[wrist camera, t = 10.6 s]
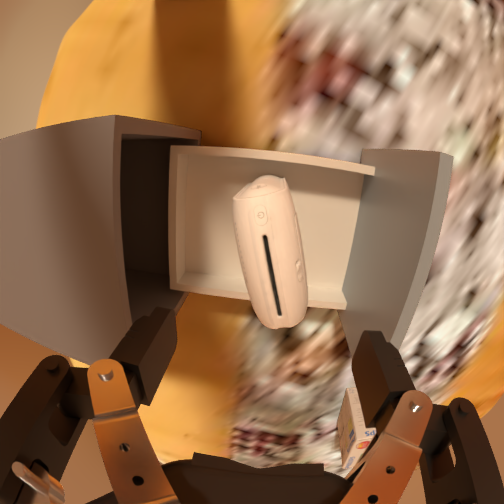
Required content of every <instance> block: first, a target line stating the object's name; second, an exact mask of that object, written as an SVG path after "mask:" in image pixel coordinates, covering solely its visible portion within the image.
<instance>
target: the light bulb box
mask: <svg viewBox="0 0 504 504" xmlns="http://www.w3.org/2000/svg"><path fill="white" fill-rule="evenodd" d="M337 425H338V432H339V440H340V448H341V457H342V468H343V469H346V468H352V467H354V466H355V464H356V463H357V461H358V460H359V458H360V457H361V455H362V454H363V452H364V451H365V449H366V448H367V446H368V444H369V443H370V441H371V440H372V438H373V436H374V435H375V434H376V428H366V427H365V423H364V418H363V414H362V409H361V405H360V401H359V396H358V392H357V388H356V387H353V388H347V389H346V392H345V396H344V400H343V404H342V407H341V411H340V414H339V418H338V421H337Z"/></svg>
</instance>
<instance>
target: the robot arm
mask: <svg viewBox="0 0 504 504" xmlns="http://www.w3.org/2000/svg"><path fill="white" fill-rule="evenodd" d="M176 345H177V331H176V318H175V311H174V309H170V308H164V307H159V306H157V307H155V309H154V310H153V312H152V313H151V315H150V316H145V315H144V316H142V317H141V318H139V319H138V320H136V321H135V322H134V323H133V324H132V326H131V327H130V329H129V330H128V331H127V333H126V334H125V337H123V338H122V340H121V341H120V342H119V344H118V345H117V347H116V348H115V350H114V351H113V352H112V354H111V355H110V357H109V358H108V359H101V360H98V361H96V362H94V363H93V364H92V365H91V366H90V367H89V368H78V367H70V365H69V363H68V361H67V360H66V359H65V358H64V357H62V356H59V355H52V356H48V357H46V358H45V359H43V360H42V361H41V362H40V363H39V365H38V366H37V367H36V369H35V370H34V371H33V373H32V374H31V375H30V377H29V378H28V379H27V381H26V382H25V383H24V385H23V386H22V388H21V389H20V390H19V392H18V393H17V395H16V396H15V398H14V399H13V401H12V402H11V403H10V405H9V406H8V408H7V409H6V411H5V412H4V414H3V415H2V417H1V419H0V504H64V502H65V499H64V496H65V494H64V489H63V487H62V485H61V484H60V480H61V477H62V474H63V472H64V470H65V468H66V465H67V463H68V461H69V459H70V456H71V454H72V452H73V450H74V448H75V445H76V443H77V441H78V439H79V437H80V435H81V433H82V431H83V429H84V426H85V424H86V422H87V420H88V419H93V425H94V429H95V434H96V438H97V441H98V445H99V449H100V452H101V456H102V459H103V462H104V465H105V468H106V471H107V474H108V477H109V480H110V483H111V486H112V488H113V491H112V492H110V493H108V494H106V495H104V496H102V497H99V498H97V499H95V500H93V501H90V502H88V503H86V504H397V503H398V502H399V500H400V498H401V496H402V494H403V492H404V490H405V488H406V487H407V484H408V482H409V480H410V478H411V476H412V474H413V472H414V470H415V468H416V465H417V463H418V461H419V465H420V470H421V475H422V480H423V486H424V492H425V497H426V504H504V487H503V483H502V480H501V476H500V473H499V470H498V466H497V463H496V460H495V457H494V454H493V451H492V449H491V446H490V443H489V440H488V438H487V435H486V433H485V431H484V428H483V425H482V423H481V420H480V418H479V416H478V413H477V411H476V409H475V407H474V405H473V404H472V403H471V402H470V401H469V400H467V399H465V398H455V399H453V400H452V401H451V403H450V404H449V405H448V406H444V405H437V404H432V401H431V399H430V398H429V397H428V396H427V395H426V394H425V393H423V392H421V391H417V390H416V389H415V387H414V384H413V382H412V380H411V377H410V375H409V373H408V371H407V368H406V367H405V364H404V362H403V360H402V358H401V355H400V353H399V351H398V349H397V348H396V347H395V346H393V345H392V344H391V343H390V342H386V340H385V338H384V335H383V333H382V332H381V331H373V330H364V331H363V332H362V335H361V337H360V340H359V343H358V345H357V348H356V350H355V353H354V355H353V359H352V372H353V376H354V380H355V384H356V388H357V392H358V396H359V401H360V405H361V409H362V414H363V418H364V423H365V427H366V428H376V434H375V435H374V436H373V438H372V440H371V441H370V443H369V444H368V446H367V448H366V449H365V451H364V452H363V454H362V455H361V457H360V458H359V460H358V461H357V463H356V464H355V466H354V467H353V468H352V470H351V471H350V472H349V473H348V474H347V476H346V477H345V478H343V477H341V476H338V475H336V474H333V473H330V472H326V471H324V463H323V464H288V465H282V466H276V467H269V468H262V469H259V468H254V467H251V466H248V465H245V464H242V463H239V462H236V461H233V460H230V459H228V458H223V457H217V456H211V455H206V454H200V453H195V452H194V454H193V458H192V459H186V460H178V461H173V462H169V463H166V464H163V465H160V463H159V461H158V459H157V457H156V454H155V452H154V450H153V448H152V446H151V443H150V441H149V439H148V436H147V434H146V431H145V429H144V427H143V424H142V422H141V419H140V416H139V414H138V411H137V410H138V408H139V406H140V404H144V405H147V406H150V404H151V402H152V400H153V397H154V395H155V393H156V391H157V389H158V386H159V384H160V382H161V380H162V378H163V375H164V373H165V371H166V369H167V367H168V365H169V362H170V360H171V358H172V356H173V354H174V352H175V349H176ZM451 444H452V447H453V450H454V454H455V457H456V464H455V467H454V464H453V460H452V457H451V454H450V450H449V446H450V445H451Z"/></svg>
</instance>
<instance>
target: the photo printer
mask: <svg viewBox="0 0 504 504" xmlns="http://www.w3.org/2000/svg"><path fill="white" fill-rule="evenodd" d="M232 215H233V224H234V231H235V238H236V243H237V249H238V254H239V258H240V263H241V267H242V272H243V276H244V280H245V284H246V287H247V291H248V294H249V297H250V301H251V304H252V306H253V309H254V311H255V313H256V315H257V317H258V319H259V320H260V322H261V323H262V324H263V325H265V326H266V327H268V328H271V329H278V328H282V327H289V328H290V327H293V326H295V325H297V324H298V323H299V322H301V321H302V320H303V318H304V317H305V314H306V310H307V305H308V286H307V275H306V266H305V259H304V252H303V245H302V239H301V233H300V228H299V223H298V218H297V213H296V211H295V207H294V203H293V200H292V196H291V193H290V189H289V186H288V183H287V181H286V179H285V177H282V178H280V177H278V176H276V175H270V174H268V175H263V176H260V177H258V178H257V179H256V180H255V181H254V182H253V183H249V184H247V185H246V186H245V187H244V188H243V189H242V190H241V191H239V192H238V193H237V194H236V195H235V196H234V197H233V204H232Z"/></svg>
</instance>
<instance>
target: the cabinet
mask: <svg viewBox="0 0 504 504" xmlns="http://www.w3.org/2000/svg"><path fill="white" fill-rule="evenodd" d="M200 142H201V131H199V130H195V129H191V128H186V127H182V126H177V125H172V124H167V123H162V122H157V121H151V120H145V119H140V118H133V117H127V116H120V115H109V116H102V117H95V118H88V119H82V120H76V121H71V122H66V123H61V124H56V125H51V126H47V127H42V128H38V129H34V130H31V131H27V132H23V133H19V134H16V135H13V136H9V137H6V138H3V139H0V324H2V325H4V326H6V327H7V328H9V329H11V330H13V331H15V332H17V333H19V334H21V335H22V336H25V337H26V338H29V339H31V340H32V341H34V342H36V343H39V344H41V345H43V346H45V347H47V348H49V349H52V350H54V351H56V352H59V353H61V354H63V355H66V356H68V357H70V358H73V359H75V360H78V361H80V362H83V363H86V364H88V365H92V364H93V363H94V362H96V361H98V360H101V359H108V358H109V357H110V355H111V354H112V352H113V351H114V350H115V348H116V347H117V345H118V344H119V342H120V341H121V340H122V338H123V337H125V334H126V333H127V331H128V330H129V329H130V327H131V326H132V324H133V323H134V322H135V321H136V320H138V319H139V318H141V317H142V316H144V315H145V316H150V315H151V313H152V312H153V310H154V309H155V307H157V306H159V307H164V308H170V309H174V311H175V316H176V315H177V313H178V311H179V309H180V308H181V306H182V304H183V303H184V301H185V299H186V298H187V296H188V294H189V292H186V291H180V290H173V289H170V277H169V245H168V200H169V167H170V148H171V145H175V146H200Z"/></svg>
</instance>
